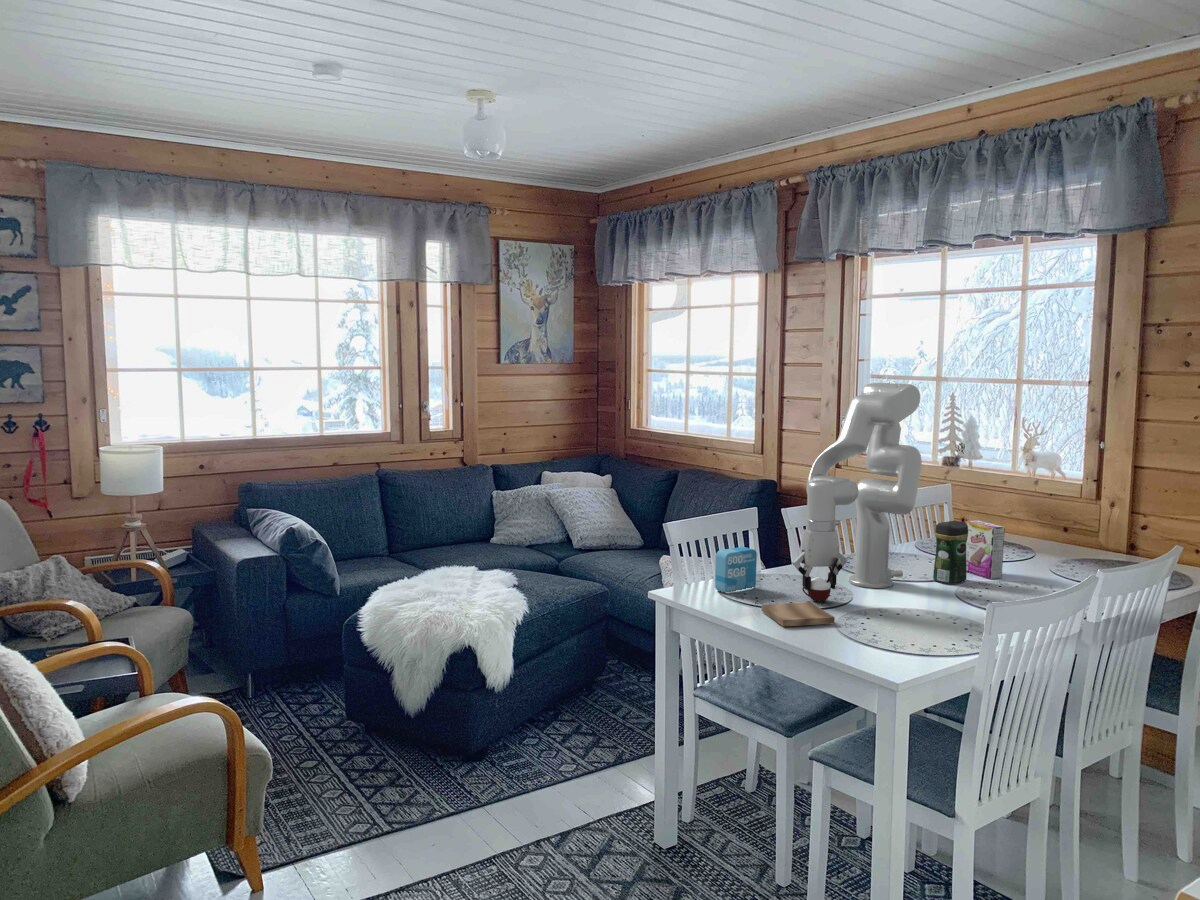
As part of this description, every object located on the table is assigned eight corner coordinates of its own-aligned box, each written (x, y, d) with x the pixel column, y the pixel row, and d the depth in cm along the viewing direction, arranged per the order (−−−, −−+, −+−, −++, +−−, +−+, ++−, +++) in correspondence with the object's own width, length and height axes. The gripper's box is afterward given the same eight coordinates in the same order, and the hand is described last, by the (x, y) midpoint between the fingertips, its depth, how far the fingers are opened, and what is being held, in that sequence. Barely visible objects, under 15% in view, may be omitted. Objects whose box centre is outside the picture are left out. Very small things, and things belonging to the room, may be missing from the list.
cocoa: (800, 600, 252) (798, 558, 250) (813, 594, 256) (811, 553, 254) (829, 606, 245) (827, 563, 243) (842, 600, 249) (840, 557, 247)
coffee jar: (947, 576, 280) (950, 517, 278) (970, 582, 273) (973, 521, 271) (927, 580, 275) (930, 520, 273) (950, 586, 268) (953, 525, 266)
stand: (810, 609, 243) (810, 602, 243) (834, 624, 229) (834, 617, 229) (761, 612, 240) (761, 604, 240) (782, 628, 226) (783, 620, 226)
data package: (724, 595, 256) (725, 553, 255) (714, 591, 260) (715, 550, 259) (756, 589, 263) (757, 548, 262) (745, 585, 267) (746, 545, 265)
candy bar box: (963, 571, 286) (965, 520, 285) (975, 570, 288) (978, 519, 286) (990, 580, 276) (993, 527, 274) (1002, 578, 278) (1005, 526, 276)
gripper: (843, 521, 253) (841, 583, 255) (785, 524, 249) (784, 587, 252) (856, 526, 246) (854, 590, 248) (797, 530, 242) (795, 594, 245)
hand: (819, 588), depth 250 cm, fingers closed on cocoa, 6 cm apart
